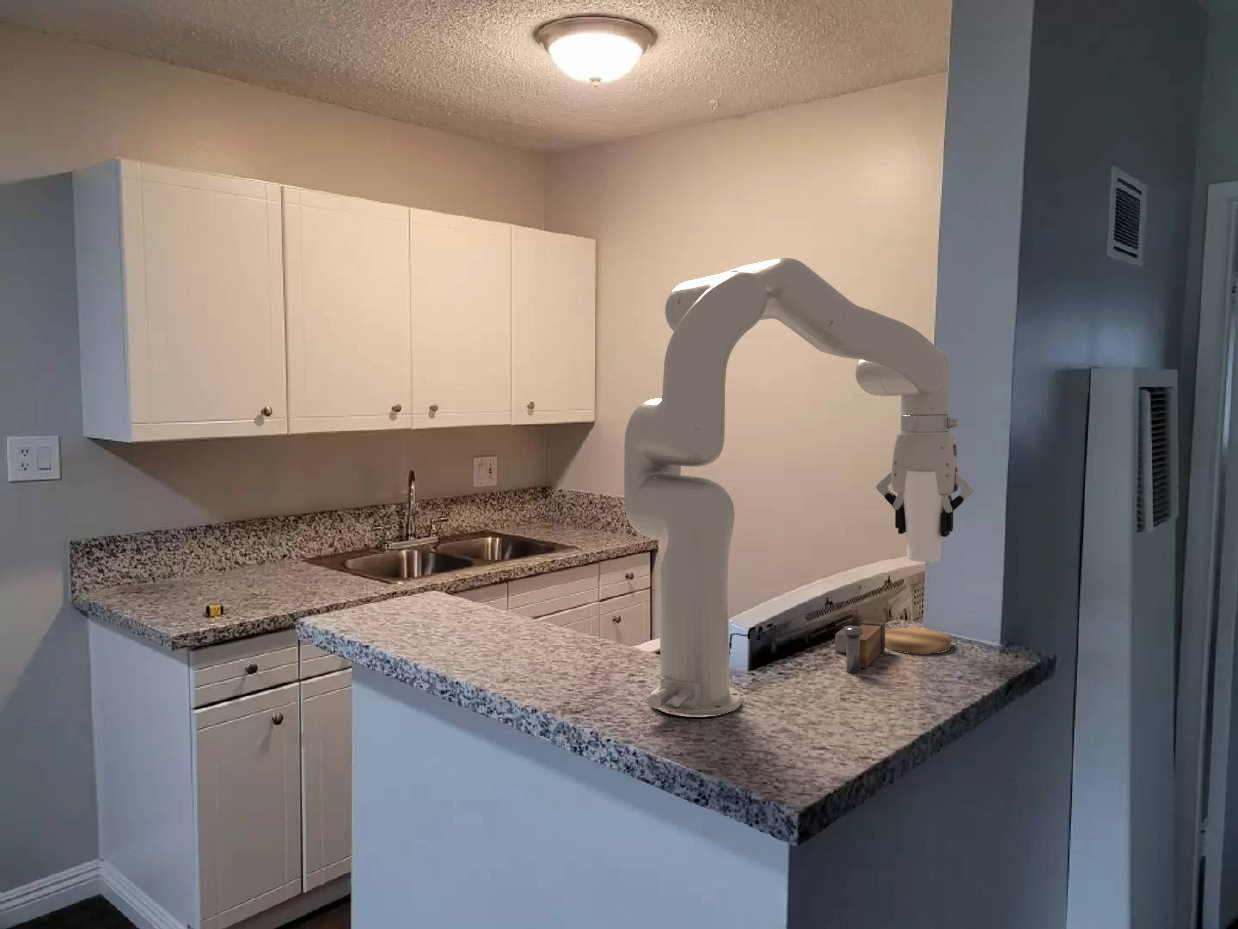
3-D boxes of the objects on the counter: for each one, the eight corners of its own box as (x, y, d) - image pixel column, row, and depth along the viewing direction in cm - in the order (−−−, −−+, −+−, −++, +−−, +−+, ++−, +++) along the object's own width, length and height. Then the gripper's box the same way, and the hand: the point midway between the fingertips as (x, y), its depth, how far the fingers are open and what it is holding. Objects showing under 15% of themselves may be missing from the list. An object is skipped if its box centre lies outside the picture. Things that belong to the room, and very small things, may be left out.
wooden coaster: (943, 657, 143) (943, 648, 143) (874, 649, 149) (874, 640, 149) (956, 641, 152) (956, 632, 152) (891, 633, 158) (891, 625, 158)
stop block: (849, 653, 146) (849, 635, 146) (835, 651, 148) (835, 634, 147) (856, 647, 150) (856, 630, 150) (842, 645, 151) (842, 628, 151)
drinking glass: (939, 556, 151) (940, 468, 150) (949, 563, 145) (951, 471, 144) (898, 556, 152) (899, 468, 151) (906, 563, 145) (907, 471, 144)
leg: (885, 649, 148) (885, 622, 147) (867, 668, 138) (867, 639, 138) (864, 647, 149) (864, 620, 149) (845, 665, 140) (845, 636, 139)
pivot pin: (859, 675, 135) (859, 631, 135) (841, 672, 137) (841, 629, 136) (864, 670, 137) (864, 627, 137) (847, 667, 139) (846, 624, 138)
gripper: (985, 425, 145) (983, 535, 147) (878, 425, 155) (878, 528, 156) (975, 426, 139) (974, 541, 140) (865, 426, 148) (865, 533, 150)
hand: (923, 533), depth 148 cm, fingers closed on drinking glass, 6 cm apart
